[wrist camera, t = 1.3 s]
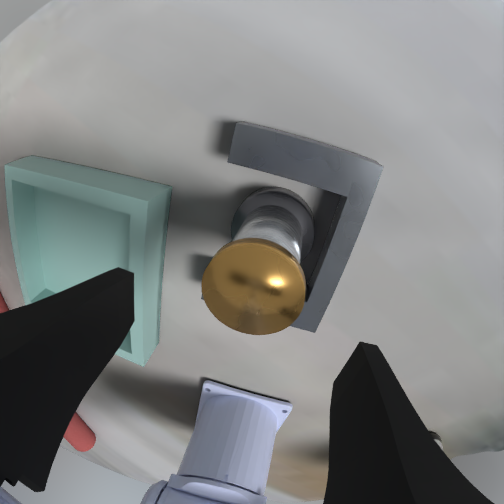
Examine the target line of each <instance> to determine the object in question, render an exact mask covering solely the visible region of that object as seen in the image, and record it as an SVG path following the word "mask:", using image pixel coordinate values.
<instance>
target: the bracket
mask: <svg viewBox="0 0 504 504" xmlns="http://www.w3.org/2000/svg"><path fill="white" fill-rule="evenodd" d="M228 163H232V164H236V165H240V166H244V167H248V168H252V169H256V170H259V171H263V172H267V173H270V174H274V175H277V176H281V177H285V178H288V179H291V180H295V181H298V182H302V183H305V184H308V185H311V186H315V187H318V188H321V189H324V190H327V191H331V192H334V193H337V194H340V195H341V198H340V200H339V203H338V206H337V209H336V212H335V215H334V218H333V221H332V223H331V226H330V229H329V232H328V234H327V237H326V240H325V243H324V245H323V248H322V251H321V253H320V256H319V259H318V261H317V264H316V267H315V269H314V272H313V274H312V277H311V279H310V282H309V285H306V289H305V301H304V306H303V309H302V311H301V313H300V315H299V316H298V318H297V319H296V320H295V321H294V322H293V323H292V324H291V325H290V326H292V327H296V328H299V329H303V330H307V331H310V332H314V333H315V332H316V330H317V327H318V325H319V323H320V321H321V319H322V317H323V315H324V313H325V311H326V309H327V306H328V304H329V302H330V300H331V298H332V296H333V293H334V291H335V289H336V287H337V285H338V282H339V280H340V278H341V275H342V273H343V271H344V269H345V266H346V264H347V261H348V259H349V257H350V254H351V252H352V249H353V247H354V245H355V242H356V240H357V237H358V235H359V232H360V230H361V227H362V225H363V222H364V219H365V217H366V214H367V211H368V209H369V206H370V203H371V201H372V198H373V195H374V192H375V190H376V187H377V184H378V181H379V178H380V175H381V172H382V169H383V166H382V165H380V164H379V163H378V162H377V161H375V160H372V159H369V158H367V157H364V156H361V155H358V154H355V153H352V152H350V151H347V150H344V149H341V148H338V147H335V146H331V145H328V144H325V143H322V142H319V141H315V140H312V139H309V138H305V137H302V136H298V135H295V134H291V133H288V132H284V131H280V130H276V129H273V128H269V127H265V126H261V125H256V124H252V123H248V122H238V123H236V126H235V130H234V135H233V139H232V144H231V148H230V153H229V157H228ZM201 299H203V300H204V298H203V294H202V298H201Z"/></svg>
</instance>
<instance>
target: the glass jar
mask: <svg viewBox="0 0 504 504" xmlns="http://www.w3.org/2000/svg"><path fill="white" fill-rule="evenodd" d="M231 235H232V242H230V243H228V244H226V245H225V246H223V247H222V248H221V249H220V250H219V251H218V252H217V253H216V254H215V255H214V257H213V258H212V260H211V262H210V263H209V265H208V266H207V268H206V269H205V272H204V274H203V278H202V294H203V298H204V300H205V303H206V305H207V307H208V308H209V310H210V311H211V312H212V314H213V315H214V316H215V317H216V318H217V319H218V320H219V321H221V322H222V323H223V324H225V325H226V326H228V327H230V328H232V329H234V330H236V331H239V332H242V333H246V334H252V335H266V334H272V333H276V332H279V331H281V330H283V329H285V328H287V327H288V326H290V325H291V324H292V323H293V322H294V321H295V320H296V319H297V318H298V316H299V315H300V313H301V311H302V309H303V306H304V301H305V289H306V281H305V275H304V272H303V269H302V267H301V265H300V262H301V261H302V260H304V259H305V257H306V256H307V255H308V253H309V252H310V250H311V248H312V245H313V241H314V219H313V215H312V212H311V210H310V208H309V206H308V205H307V203H306V202H305V201H304V200H303V199H302V198H301V197H300V196H299V195H297V194H296V193H294V192H292V191H290V190H288V189H285V188H280V187H268V188H263V189H260V190H258V191H255V192H254V193H252V194H251V195H250V196H248V197H247V198H246V199H245V201H244V202H243V203H242V204H241V206H240V207H239V209H238V210H237V212H236V213H235V215H234V217H233V221H232V225H231Z"/></svg>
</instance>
